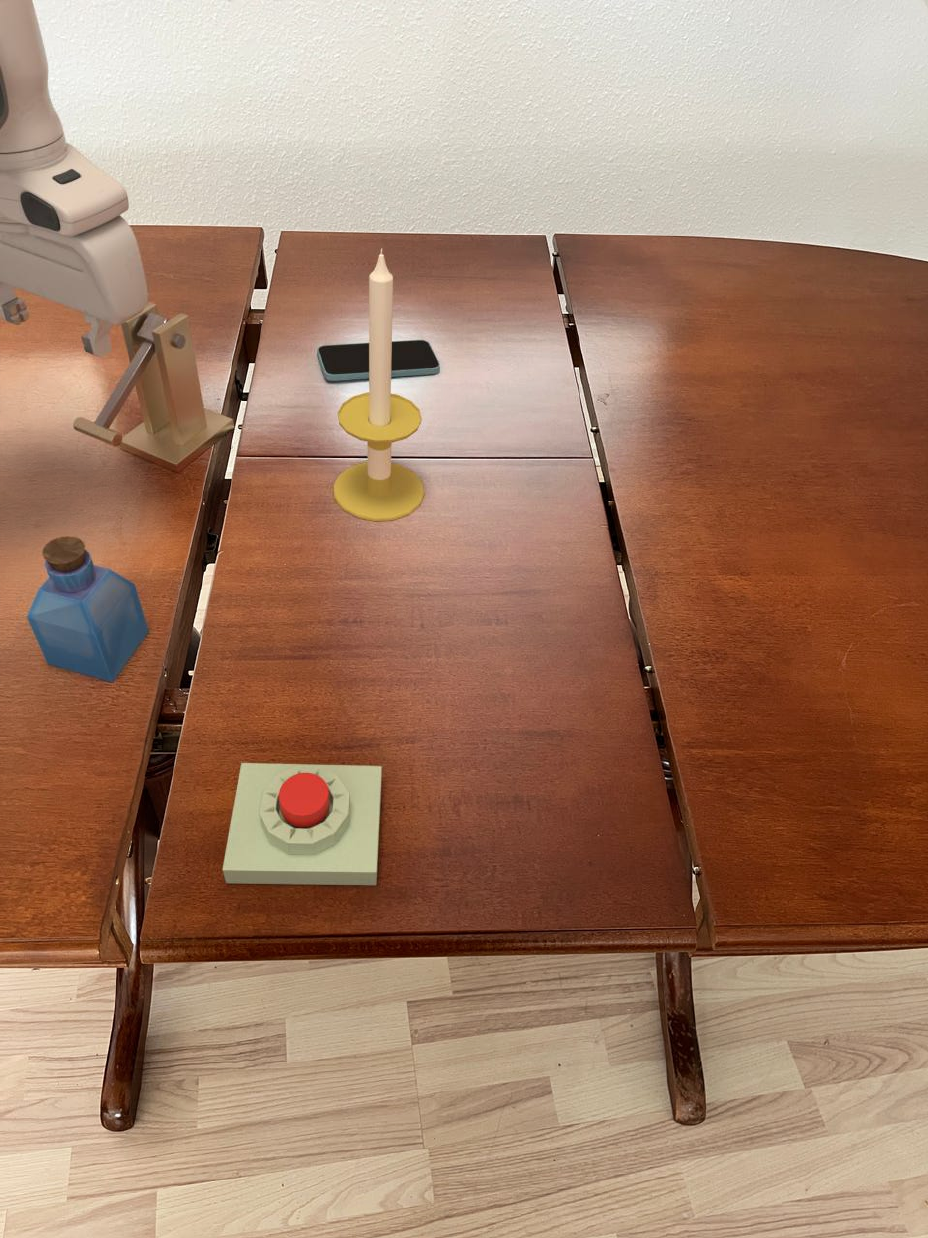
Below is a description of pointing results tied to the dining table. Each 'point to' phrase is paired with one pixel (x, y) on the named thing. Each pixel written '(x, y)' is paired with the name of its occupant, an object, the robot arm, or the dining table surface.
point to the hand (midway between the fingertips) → (57, 336)
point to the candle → (379, 423)
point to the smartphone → (355, 360)
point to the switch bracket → (170, 397)
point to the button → (304, 799)
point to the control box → (305, 829)
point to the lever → (122, 387)
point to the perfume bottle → (85, 613)
